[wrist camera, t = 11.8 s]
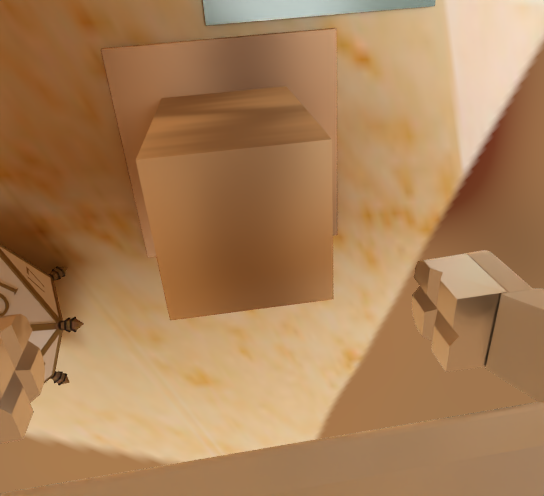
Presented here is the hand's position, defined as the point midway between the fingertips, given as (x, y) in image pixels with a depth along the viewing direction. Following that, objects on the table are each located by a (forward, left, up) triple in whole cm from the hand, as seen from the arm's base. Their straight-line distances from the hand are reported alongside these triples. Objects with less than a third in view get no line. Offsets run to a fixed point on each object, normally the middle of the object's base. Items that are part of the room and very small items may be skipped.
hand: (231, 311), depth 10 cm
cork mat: (+1, 0, -12) cm, 12 cm away
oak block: (+1, 0, -12) cm, 12 cm away
